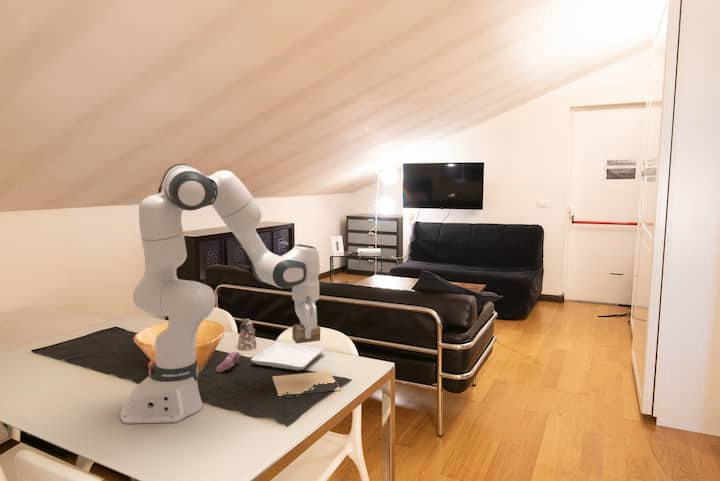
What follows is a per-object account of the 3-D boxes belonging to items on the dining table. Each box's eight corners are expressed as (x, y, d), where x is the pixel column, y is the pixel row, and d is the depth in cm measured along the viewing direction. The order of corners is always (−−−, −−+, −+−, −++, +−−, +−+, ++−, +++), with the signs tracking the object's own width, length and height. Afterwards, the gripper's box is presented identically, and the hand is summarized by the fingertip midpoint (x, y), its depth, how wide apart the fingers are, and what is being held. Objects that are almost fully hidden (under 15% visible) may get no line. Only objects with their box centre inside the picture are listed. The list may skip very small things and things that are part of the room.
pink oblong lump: (225, 377, 181) (233, 361, 180) (214, 371, 181) (222, 354, 180) (236, 367, 191) (244, 351, 189) (226, 361, 191) (234, 345, 190)
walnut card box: (320, 340, 170) (320, 326, 170) (296, 343, 167) (296, 329, 166) (315, 336, 175) (315, 322, 174) (292, 338, 172) (292, 324, 171)
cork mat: (278, 397, 162) (278, 395, 162) (272, 377, 178) (272, 376, 178) (340, 390, 168) (340, 389, 168) (329, 372, 183) (329, 371, 183)
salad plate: (303, 375, 181) (303, 366, 180) (249, 367, 187) (249, 358, 187) (325, 355, 201) (325, 347, 200) (276, 349, 207) (276, 340, 207)
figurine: (247, 352, 202) (247, 322, 201) (234, 348, 206) (233, 319, 204) (260, 347, 208) (259, 318, 207) (246, 343, 212) (246, 315, 211)
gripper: (322, 300, 160) (321, 344, 162) (309, 286, 179) (309, 325, 181) (301, 302, 158) (301, 345, 160) (291, 287, 177) (291, 326, 179)
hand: (305, 334), depth 171 cm, fingers closed on walnut card box, 5 cm apart
